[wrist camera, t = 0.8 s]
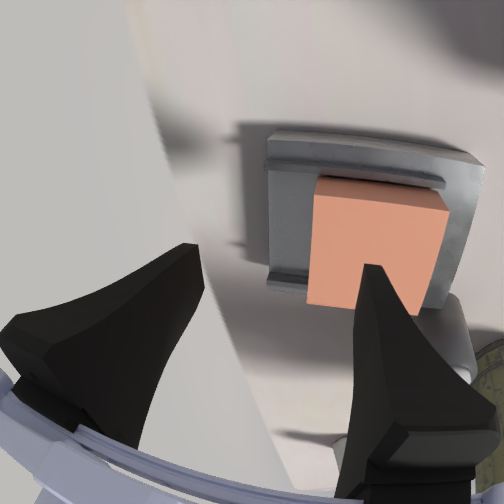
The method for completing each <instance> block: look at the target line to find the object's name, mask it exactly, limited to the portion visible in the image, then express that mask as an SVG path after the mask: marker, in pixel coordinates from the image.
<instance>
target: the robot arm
mask: <svg viewBox="0 0 504 504" xmlns="http://www.w3.org/2000/svg"><path fill="white" fill-rule="evenodd" d="M204 288H205V287H204V280H203V274H202V267H201V261H200V254H199V248H198V245H197V244H188V243H182V244H180V245H178V246H177V247H175V248H173V249H171V250H169V251H168V252H166V253H164V254H163V255H161V256H159V257H158V258H156V259H155V260H153V261H151V262H150V263H148V264H146V265H145V266H143V267H141V268H140V269H138V270H136V271H134V272H132V273H131V274H129V275H127V276H125V277H124V278H122V279H120V280H118V281H116V282H114V283H112V284H111V285H108V286H106V287H104V288H102V289H100V290H98V291H96V292H93V293H91V294H88V295H86V296H83V297H81V298H78V299H75V300H73V301H70V302H67V303H63V304H60V305H57V306H53V307H50V308H46V309H42V310H37V311H32V312H27V313H22V314H17V315H15V316H14V317H13V318H12V320H11V321H10V322H9V323H8V324H7V325H6V326H5V327H4V328H3V329H2V331H1V332H0V347H1V349H2V351H3V352H4V354H5V355H6V357H7V358H8V359H9V361H10V362H11V363H12V365H13V366H14V367H15V368H16V370H17V371H18V373H19V374H20V375H21V377H20V378H19V380H18V381H17V382H16V384H13V382H12V380H11V379H10V378H9V377H8V375H7V374H6V373H5V372H4V371H3V370H2V369H1V368H0V447H2V448H3V449H4V450H5V451H6V452H7V453H8V454H9V455H10V456H12V457H13V458H14V459H15V460H16V461H17V462H19V463H20V464H21V465H22V466H23V467H25V468H26V469H27V470H28V471H29V472H31V473H32V474H33V477H34V480H35V481H36V482H37V483H38V484H40V485H41V486H42V487H43V489H42V490H41V492H40V494H39V496H38V498H37V500H36V501H35V503H34V504H197V503H194V502H192V501H189V500H186V499H183V498H180V497H177V496H175V495H172V494H170V493H167V492H165V491H162V490H160V489H158V488H155V487H153V486H150V485H148V484H145V483H143V482H141V481H138V480H136V479H133V478H131V477H129V476H127V475H124V474H122V473H120V472H118V471H116V470H114V469H112V468H111V467H110V466H109V465H108V464H107V463H106V462H105V461H103V460H106V461H107V462H109V463H112V464H114V465H116V466H118V467H120V468H122V469H124V470H127V471H129V472H131V473H133V474H136V475H138V476H140V477H143V478H145V479H148V480H151V481H153V482H155V483H158V484H160V485H163V486H166V487H169V488H171V489H174V490H177V491H180V492H183V493H186V494H189V495H192V496H195V497H198V498H202V499H205V500H208V501H212V502H215V503H219V504H504V482H502V483H499V484H496V485H494V486H492V487H490V488H489V489H487V490H486V491H485V492H484V493H479V494H473V495H471V480H473V479H475V477H476V467H475V466H476V465H478V464H479V463H480V462H482V461H483V460H484V459H485V458H487V457H488V456H489V455H490V454H492V453H493V452H494V451H495V450H496V449H497V447H498V446H499V444H500V443H501V441H502V436H501V428H500V420H499V416H498V411H497V408H496V406H495V405H494V404H493V403H491V402H490V401H489V400H488V399H486V398H485V397H484V396H483V395H481V394H480V393H479V392H477V391H476V390H475V389H474V388H473V387H471V386H470V385H469V384H468V383H467V382H466V381H465V380H464V379H463V378H462V377H461V376H460V375H459V374H457V373H456V372H455V371H454V370H453V369H452V368H451V367H450V365H449V364H448V363H447V362H446V361H445V360H444V359H443V358H442V357H441V356H440V355H439V353H438V352H437V351H436V350H435V349H434V348H433V346H432V345H431V344H430V343H429V341H428V340H427V339H426V338H425V336H424V335H423V334H422V332H421V331H420V329H419V328H418V327H417V325H416V324H415V322H414V321H413V319H412V318H411V316H410V314H409V313H408V311H407V310H406V308H405V306H404V305H403V303H402V301H401V300H400V298H399V296H398V294H397V293H396V291H395V289H394V287H393V285H392V284H391V282H390V280H389V278H388V276H387V274H386V272H385V270H384V268H383V267H382V265H375V264H366V263H364V267H363V272H362V278H361V283H360V288H359V292H358V297H357V302H356V307H355V316H354V328H353V359H354V387H353V400H352V408H351V415H350V422H349V428H348V434H347V440H346V446H345V451H344V456H343V461H342V466H341V470H340V475H339V479H338V483H337V487H336V492H335V495H334V498H327V497H317V496H309V495H302V494H295V493H289V492H283V491H277V490H271V489H266V488H261V487H256V486H251V485H247V484H242V483H238V482H233V481H230V480H226V479H222V478H219V477H215V476H211V475H208V474H204V473H201V472H198V471H194V470H191V469H188V468H185V467H182V466H179V465H176V464H173V463H170V462H167V461H164V460H161V459H159V458H156V457H153V456H151V455H148V454H146V453H143V452H141V451H138V446H139V441H140V438H141V434H142V430H143V426H144V423H145V420H146V417H147V414H148V411H149V407H150V404H151V401H152V398H153V396H154V393H155V390H156V388H157V385H158V382H159V380H160V378H161V375H162V373H163V370H164V368H165V366H166V363H167V361H168V359H169V357H170V355H171V353H172V351H173V350H174V348H175V346H176V344H177V343H178V341H179V339H180V337H181V336H182V334H183V332H184V330H185V329H186V327H187V325H188V323H189V322H190V320H191V318H192V316H193V315H194V313H195V311H196V309H197V306H198V304H199V302H200V299H201V296H202V294H203V291H204ZM93 454H94V455H93ZM96 456H97V457H96ZM98 457H99V458H98ZM100 458H101V459H103V460H101V459H100Z"/></svg>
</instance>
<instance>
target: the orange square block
mask: <svg viewBox="0 0 504 504" xmlns="http://www.w3.org/2000/svg"><path fill="white" fill-rule="evenodd" d="M449 213H450V211H449V209H448V208H447V206H446V204H445V203H444V201H443V199H442V198H441V196H440V194H439V193H438V191H435V190H429V189H422V188H415V187H408V186H401V185H394V184H386V183H378V182H370V181H361V180H352V179H342V178H332V177H321V176H318V180H317V184H316V188H315V193H314V205H313V223H312V240H311V255H310V268H309V281H308V293H307V304H314V305H322V306H331V307H339V308H348V309H355V307H356V302H357V297H358V292H359V288H360V283H361V278H362V272H363V267H364V263H366V264H375V265H382V267H383V268H384V270H385V272H386V274H387V276H388V278H389V280H390V282H391V284H392V285H393V287H394V289H395V291H396V293H397V294H398V296H399V298H400V300H401V301H402V303H403V305H404V306H405V308H406V310H407V311H408V313H409V314H410V315H416V316H418V313H419V311H420V308H421V305H422V303H423V300H424V297H425V294H426V291H427V288H428V286H429V283H430V280H431V276H432V273H433V270H434V267H435V264H436V261H437V257H438V254H439V251H440V247H441V244H442V240H443V236H444V233H445V229H446V225H447V221H448V217H449Z"/></svg>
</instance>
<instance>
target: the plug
mask: <svg viewBox="0 0 504 504" xmlns="http://www.w3.org/2000/svg"><path fill="white" fill-rule="evenodd" d="M414 319H415V324H416V325H417V327H418V328H419V329H420V331H421V332H422V334H423V335H424V336H425V338H426V339H427V340H428V341H429V343H430V344H431V345H432V346H433V348H434V349H435V350H436V351H437V352H438V353H439V355H440V356H441V357H442V358H443V359H444V360H445V361H446V362H447V363H448V364H449V365H450V367H451V368H452V369H453V370H454V371H455V372H456V373H457V374H459V375H460V376H461V377H462V378H463V379H464V380H465V381H466V382H467V383H468V384H469V385H470V383H472V382H473V380H474V379H475V378H476V376H477V373H478V367H477V363H476V359H475V355H474V350H473V346H472V343H471V339H470V335H469V331H468V328H467V324H466V321H465V317H464V314H463V311H462V307H461V304H460V301H459V299H458V298H457V297H456V296H455V295H453V294H451V293H448V295H447V298H446V300H445V303H444V305H443V308H442V309H436V308H425V307H421V308H420V311H419V313H418V316H416V315H414Z"/></svg>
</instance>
